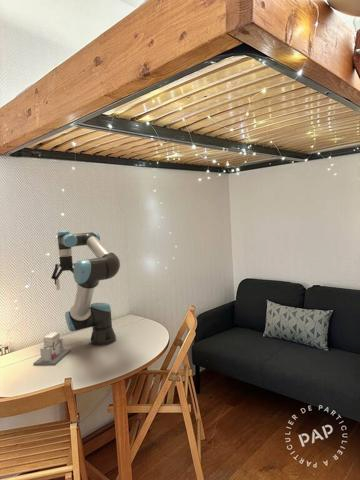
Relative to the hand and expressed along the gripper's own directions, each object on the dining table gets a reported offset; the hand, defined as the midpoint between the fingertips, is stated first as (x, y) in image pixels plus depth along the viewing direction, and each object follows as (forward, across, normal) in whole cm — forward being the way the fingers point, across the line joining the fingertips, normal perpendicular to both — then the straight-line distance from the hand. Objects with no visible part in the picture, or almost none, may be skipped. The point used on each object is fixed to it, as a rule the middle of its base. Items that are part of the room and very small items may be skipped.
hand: (68, 289), depth 208 cm
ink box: (+31, -2, +29) cm, 42 cm away
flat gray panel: (+32, -2, +29) cm, 43 cm away
